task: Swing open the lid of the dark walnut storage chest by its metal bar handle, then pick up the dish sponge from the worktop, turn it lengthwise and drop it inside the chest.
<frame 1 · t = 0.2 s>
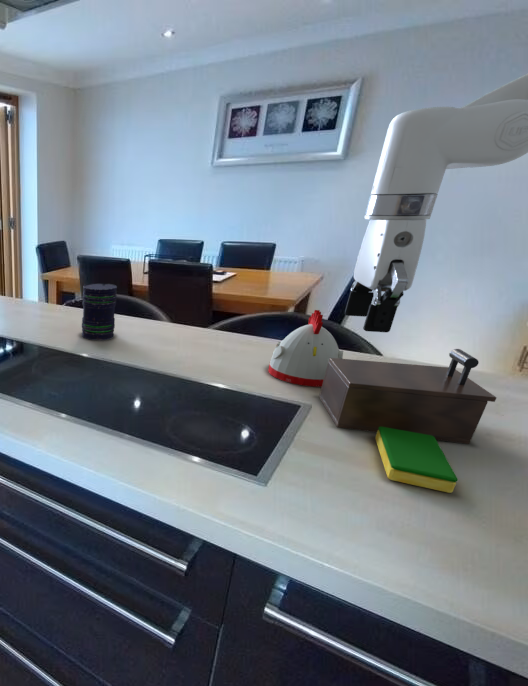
hand: (365, 323, 70), 19 cm above the worktop, tool pointing down, fingers open, 9 cm apart
chest: (385, 418, 81), on the worktop
dish sponge: (409, 464, 68), on the worktop
kitchen timer: (301, 375, 102), on the worktop
storage jar: (97, 336, 134), on the worktop
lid: (407, 364, 77), point 11 cm above the worktop, hinge at 0.0°
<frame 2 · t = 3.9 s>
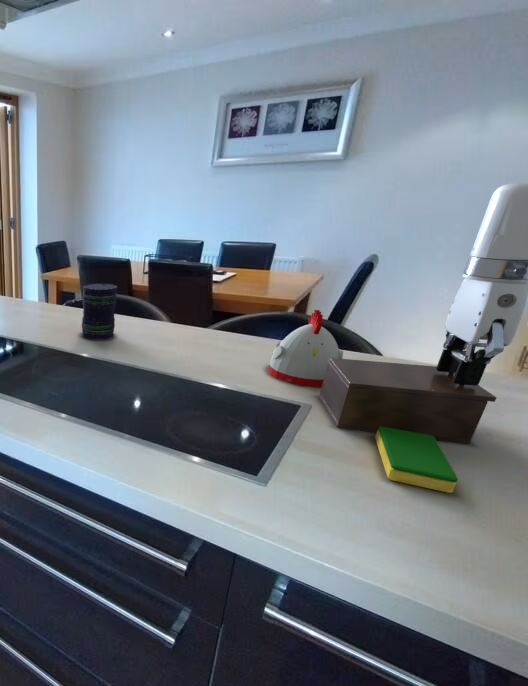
hand: (456, 376, 75), 9 cm above the worktop, tool pointing down, fingers closed on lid, 5 cm apart
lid: (407, 364, 77), point 11 cm above the worktop, hinge at 0.0°, touching gripper
everything else where it was.
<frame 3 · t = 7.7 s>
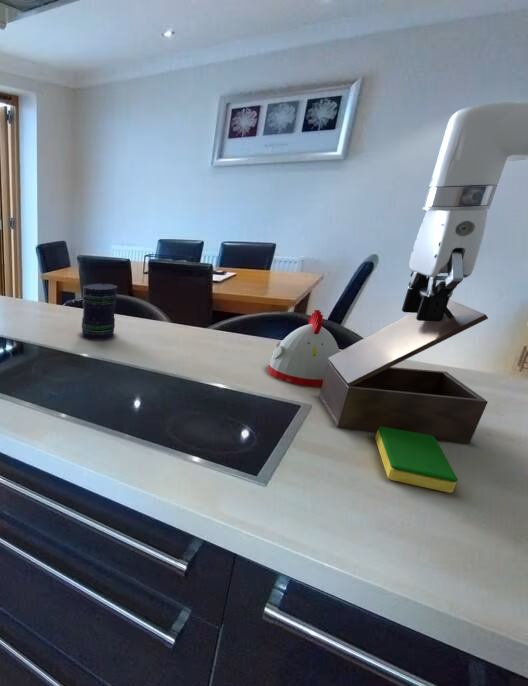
hand: (420, 315, 74), 19 cm above the worktop, tool pointing down, fingers closed on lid, 5 cm apart
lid: (388, 330, 76), point 17 cm above the worktop, hinge at 42.3°, touching gripper
everything else where it was.
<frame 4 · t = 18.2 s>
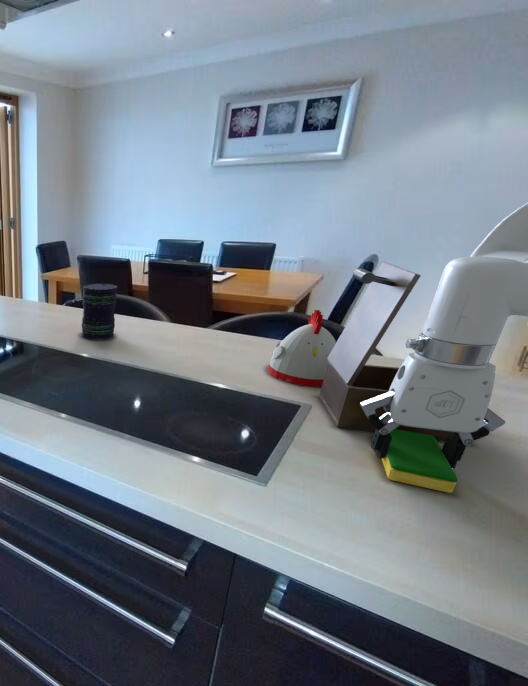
hand: (411, 457, 68), 1 cm above the worktop, tool pointing down, fingers closed on dish sponge, 7 cm apart
dish sponge: (409, 464, 68), on the worktop, touching gripper
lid: (352, 318, 77), point 18 cm above the worktop, hinge at 76.6°
everything else where it was.
when the fingers open (8 cm above the worktop, at t = 26.6 s): dish sponge drops 3 cm, resting on chest.
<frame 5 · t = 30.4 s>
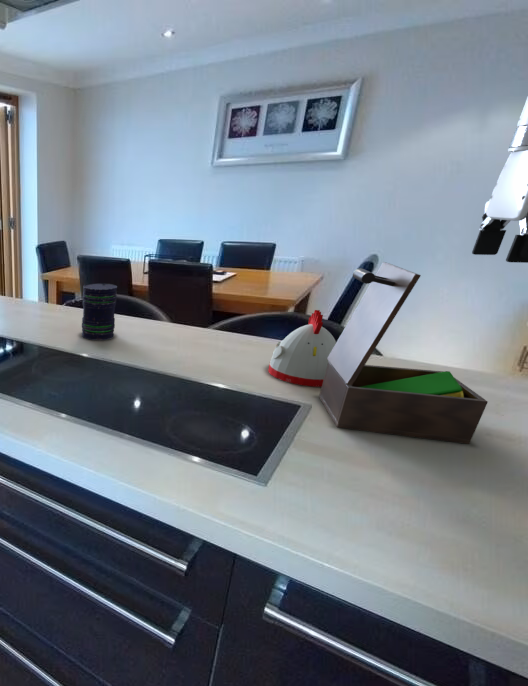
hand: (500, 258, 72), 28 cm above the worktop, tool pointing down, fingers open, 9 cm apart
dish sponge: (405, 400, 79), point 4 cm above the worktop, touching chest
everything else where it was.
at the end: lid at +77° (first picture: +0°); dish sponge inside the target area in the chest (2.0 cm from its centre), point 3.9 cm above the chest's base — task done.
